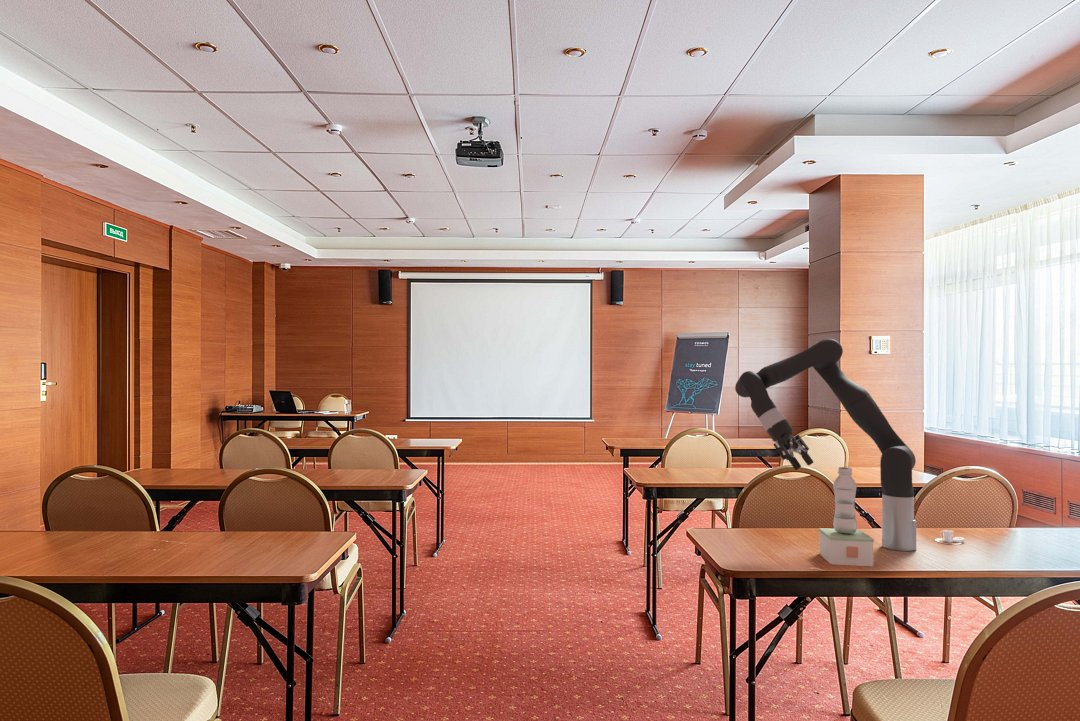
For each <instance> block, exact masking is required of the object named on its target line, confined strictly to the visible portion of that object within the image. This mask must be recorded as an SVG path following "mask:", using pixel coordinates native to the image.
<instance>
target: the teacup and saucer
mask: <svg viewBox="0 0 1080 721" xmlns="http://www.w3.org/2000/svg"><path fill="white" fill-rule="evenodd" d="M954 532H955V531H954V530H951V529H943V530H942V531H939V533H938V534H939V537H940V538H935V539H934V541H935V542H937V543H941V544H943V545H944V544H945V545H949V544H951V545H956V546H957V545H962V543H964V542H965V540H966V539H965V538H964V537H961V536H955V537H954ZM941 533H942V535H941ZM942 536H943V537H942ZM943 541H944V542H943ZM953 542H954V543H953Z"/></svg>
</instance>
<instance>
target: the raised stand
mask: <svg viewBox="0 0 1080 721" xmlns="http://www.w3.org/2000/svg"><path fill="white" fill-rule="evenodd" d="M818 531H819V532H818V533H819V534H818V535H819V541H818V542H819V544H818V546H819V549H818V550H819V552H818V554H819V555H820V556H821V557H822V558H823V559H824V560H825V561H826V562H828V564H830V565H834V566H836V565H837V566H856V567H857V566H858V567H861V566H862V567H874V543H875V539H874V538H872V536H869V535H868V534H866V533H865V532H864V531H862V530H861V529H857V530H856V532H855V533H852V534H843V533H840V532H837V531H835V529H834V528H825V527H824V528H823V527H819V528H818Z"/></svg>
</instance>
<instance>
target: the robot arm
mask: <svg viewBox="0 0 1080 721" xmlns="http://www.w3.org/2000/svg"><path fill="white" fill-rule="evenodd" d="M843 349H844V348H843V346H842V344H841V343H840V342H839V341H837V340H836V339H833V338H823V339H821V340H819V341H818V342H817V343H815V344H813V345H812V346H810V347H808V348H807V349H805V350H803V351H801V352H798V353H797V354H795V355H792V356H789V357H787V358H785V359H782V360H779V361H777V362H774V363H772V364H769V365H767V366H764V367H762V368H761V369H760V370H759V371H758V372H756V373H755V372H754V371H751V370H747V371H744V372H743V373H742V374H741V375H740V376H739V378H738V380H737V381H736V383H735V386H734V390H735V393H736V394H737V395H738V396H739V397H742V398H749V399H750V407H751V410H752V411H753V413H754V414H755V416H756V417H757V419H758V420H759V422H760V424H761V426H762V427H763V429H764V430H765V431H766V433H767V434H768V436H769V437H770V439H771V440H772V442H774V443H773V446H774V449H775V450H776V451H777V453H778V454H779V456H780V457H781V459H782V460H783V461H784V460H786V461H789V463H790V464H791V466H792V468H793V469H794V470H795V471H798V470H800V469H801V468H802V465H801V464H800V462H799V461H798V459H797V458H796V457H795V455H794V453H795V454H799V455H800V456H801V458H802V460H803V461H804V462H805V464H806V465H807V466H811V465H812V464H813V463H814V460H813V458H812V457H811V455H810V454H809V453H808V451H809V450H810V448H809V446H808V445H807V443H806V442H805V441H804V440H803V438H802V437H801V435H800V434H797V435H795V436H794V435H793V434H792V433H793V431H794V428H793V427H792V425H791V424H790V423H789V421H788V420H787V419H786V417H785V415H784V414H783V413H782V412H781V411H780V410H779V408H778V407H777V405H776V404H775V403H774V402H773V400H772V398H770V395H769V393H768V390H767V389H768V388H770V387H772V386H776V385H778V384H781V383H783V382H785V381H787V380H790V379H791V378H794V377H795V376H797V375H799V374H800V373H802V372H804V371H806V370H808V369H811V368H813V369H814V370H815V371H816V372H817V373H818V375H819V376H820V377H821V379H823V380H824V382H825V383H826V384H827V385H828V386H829V388H830V390H831V391H832V393H833V394H834V395H835V397H837V399H838V401H839V402H840V403H841V405H842V406H843V408H844V409H845V411H846V412H847V414H848V415H849V417H850V418H851V419H852V421H853V422H854V424H856V425H857V426H858V427H859V428H860V429H861V430H862V431H863V432H864V433H865V434H867V435H868V437H870V439H871V440H872V441H873V442H874V444H876V446H877V448H878V450H879V451H880V453H881V456H880V464H879V466H880V470H879V472H880V473H879V474H880V487H881V489H882V490H881V494H882V496H881V499H882V500H881V510H882V511H881V546H882V547H883V548H885V549H888V550H894V551H901V552H903V551H904V552H912V551H917V520H916V519H915V500H914V499H915V490H914V489H915V488H914V486H913V469H914V468H915V465H916V463H917V462H916V461H917V460H916V456H915V453H914V452H913V450H911V448H910V447H909V446H908V444H906V443H905V442H904V441H903V440H902V439H901V437H900V435H898V434H897V433H896V431H895V430H894V429H893V427H892V426H891V424H890V423H889V421H888V419H887V417H886V416H885V415H884V413H883V411H882V410H881V409H880V407H879V406H878V404H877V402H876V401H875V400H874V399H873V397H872V396H871V394H870V393H869V391H867V390H866V388H864V387H862V386H861V385H859V384H858V383H856V382H854V381H853V380H851V379H850V378H849V377H847V375H846V374H845V373H844V372H843V370H842V369H841V367H840V366H839V365H838V362H839V361H840V359H841V358H842V355H843V353H844V350H843Z"/></svg>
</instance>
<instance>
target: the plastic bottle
mask: <svg viewBox="0 0 1080 721" xmlns="http://www.w3.org/2000/svg"><path fill="white" fill-rule="evenodd" d="M852 471H853V469H852V468H851V467H845V466H841V467H838V472H837V474H838V476H837V477H836V478H835V479H834V481H833V483H832V485H833V486H832V487H833V493H834V502H835V503H834V504H835V507H834V508H835V509H834V517H833V522H832V523H833V524H832V525H833V529H835V531H837V532H840V533H843V534H852V533H855V532H856V530H858V522H857V518H856V517H857V516H856V508H855V505H856V495H857V494H856V493H857V486H858V485H857V483H856V480H854V478H853V476H852V475H853V472H852Z"/></svg>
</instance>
